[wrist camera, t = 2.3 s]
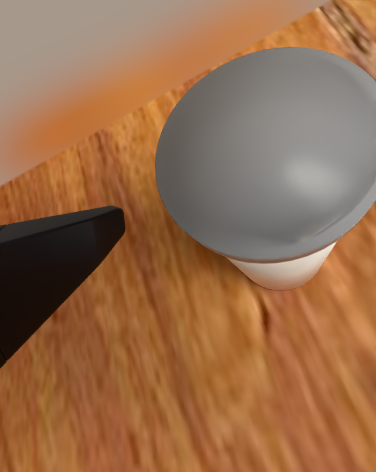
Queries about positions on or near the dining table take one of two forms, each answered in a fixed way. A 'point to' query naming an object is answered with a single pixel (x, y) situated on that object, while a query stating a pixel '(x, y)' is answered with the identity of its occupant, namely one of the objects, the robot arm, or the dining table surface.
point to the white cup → (272, 161)
